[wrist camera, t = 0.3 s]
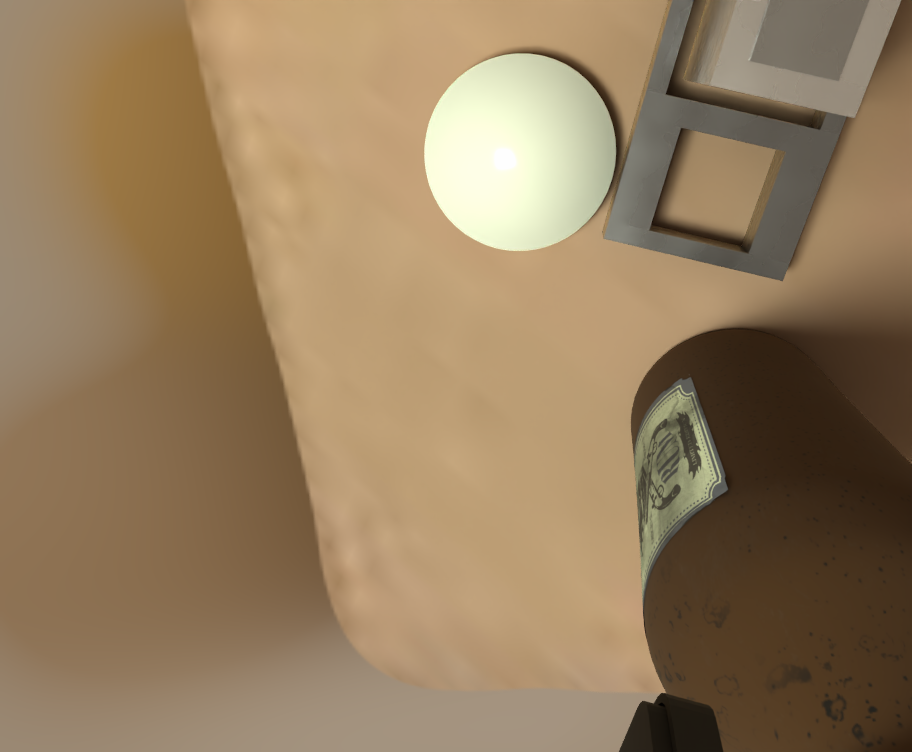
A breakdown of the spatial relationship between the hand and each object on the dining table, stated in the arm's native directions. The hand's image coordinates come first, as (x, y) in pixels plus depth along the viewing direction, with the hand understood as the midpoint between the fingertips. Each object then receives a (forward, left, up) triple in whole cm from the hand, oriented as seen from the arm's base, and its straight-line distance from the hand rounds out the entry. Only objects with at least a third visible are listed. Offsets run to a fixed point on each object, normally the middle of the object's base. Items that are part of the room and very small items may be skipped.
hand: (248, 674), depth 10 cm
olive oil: (+7, +14, -30) cm, 33 cm away
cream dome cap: (-3, +1, -29) cm, 30 cm away
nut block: (-10, +9, -30) cm, 33 cm away
